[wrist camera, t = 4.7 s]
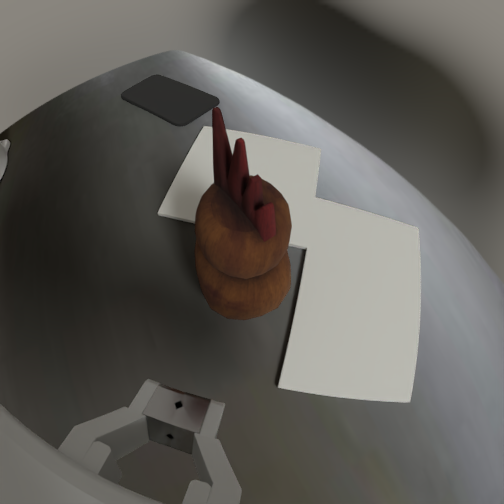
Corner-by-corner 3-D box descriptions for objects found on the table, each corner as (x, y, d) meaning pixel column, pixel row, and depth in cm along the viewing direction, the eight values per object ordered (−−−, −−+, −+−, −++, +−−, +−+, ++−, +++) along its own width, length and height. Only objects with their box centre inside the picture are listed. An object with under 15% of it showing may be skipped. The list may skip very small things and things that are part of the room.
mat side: (158, 215, 24) (157, 213, 24) (204, 128, 30) (203, 126, 29) (306, 249, 23) (307, 247, 23) (320, 151, 29) (321, 149, 28)
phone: (180, 126, 29) (117, 95, 33) (181, 131, 30) (119, 99, 33) (223, 99, 32) (155, 73, 35) (223, 104, 33) (156, 77, 36)
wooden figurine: (197, 255, 23) (155, 97, 9) (265, 241, 24) (294, 80, 10) (214, 336, 20) (161, 246, 6) (288, 319, 21) (372, 206, 7)
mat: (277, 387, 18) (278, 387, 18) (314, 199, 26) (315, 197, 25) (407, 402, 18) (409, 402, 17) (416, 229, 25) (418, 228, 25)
